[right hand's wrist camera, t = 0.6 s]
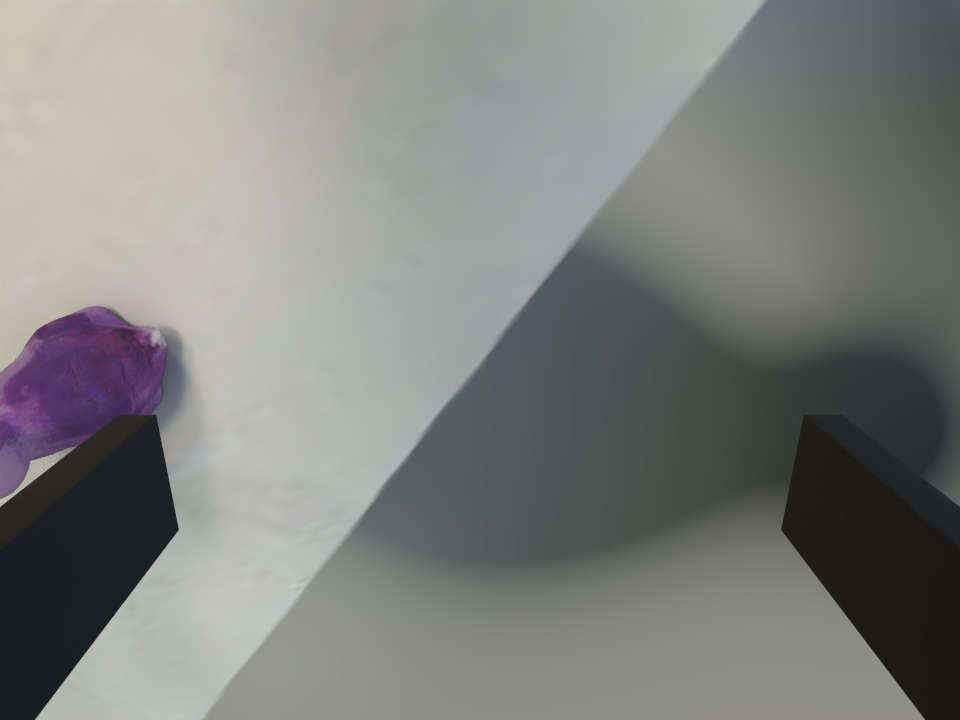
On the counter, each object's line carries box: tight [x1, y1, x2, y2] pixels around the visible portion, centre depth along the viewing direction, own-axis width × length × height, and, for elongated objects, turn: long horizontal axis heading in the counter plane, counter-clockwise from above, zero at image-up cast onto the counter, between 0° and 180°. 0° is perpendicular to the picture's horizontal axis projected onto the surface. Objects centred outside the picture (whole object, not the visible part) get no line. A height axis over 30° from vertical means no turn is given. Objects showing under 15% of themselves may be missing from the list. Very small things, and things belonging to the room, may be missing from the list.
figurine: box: [0, 306, 167, 499], centre depth 35 cm, size 9×10×15 cm
